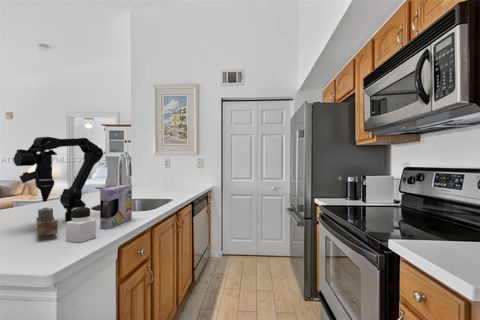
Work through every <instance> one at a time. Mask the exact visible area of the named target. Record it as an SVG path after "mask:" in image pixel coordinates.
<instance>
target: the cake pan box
mask: <svg viewBox="0 0 480 320" xmlns="http://www.w3.org/2000/svg"><path fill="white" fill-rule="evenodd" d="M132 191H133V185H132V184H121V185H113V186H109V187H105V188H104V187H103V188H100V190H99V196H100V197H99V199H100V200H99V205H100V206H99V207H100V208H99V216H100V217H99V226H100V227H99V228H100V229H103V230H109V229H110V230H111V229H113V228H115V227H117V226H119V225H122V224H124V223H126V222H128V221H130V220H132V218H133V217H132V213H133V211H132V207H133V204H132V202H133V201H132V200H133V197H132V196H133V192H132Z"/></svg>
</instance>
